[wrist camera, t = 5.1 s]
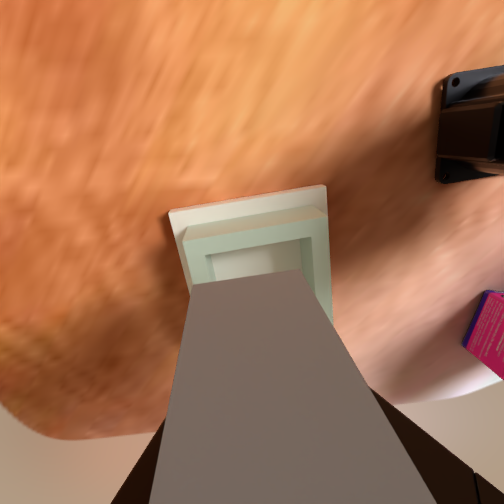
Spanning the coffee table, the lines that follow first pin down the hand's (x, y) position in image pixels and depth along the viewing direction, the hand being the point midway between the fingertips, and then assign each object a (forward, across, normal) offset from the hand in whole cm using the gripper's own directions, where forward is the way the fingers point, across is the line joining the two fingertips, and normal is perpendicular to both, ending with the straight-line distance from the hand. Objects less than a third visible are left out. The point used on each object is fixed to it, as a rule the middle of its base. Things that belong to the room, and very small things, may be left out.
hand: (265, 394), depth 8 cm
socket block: (+13, -1, +2) cm, 13 cm away
